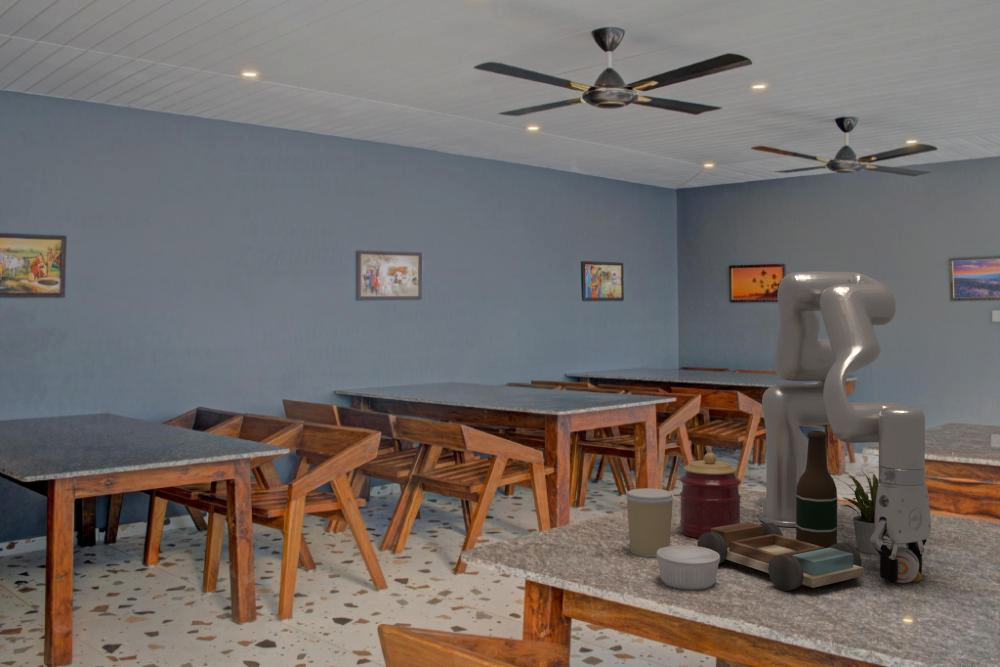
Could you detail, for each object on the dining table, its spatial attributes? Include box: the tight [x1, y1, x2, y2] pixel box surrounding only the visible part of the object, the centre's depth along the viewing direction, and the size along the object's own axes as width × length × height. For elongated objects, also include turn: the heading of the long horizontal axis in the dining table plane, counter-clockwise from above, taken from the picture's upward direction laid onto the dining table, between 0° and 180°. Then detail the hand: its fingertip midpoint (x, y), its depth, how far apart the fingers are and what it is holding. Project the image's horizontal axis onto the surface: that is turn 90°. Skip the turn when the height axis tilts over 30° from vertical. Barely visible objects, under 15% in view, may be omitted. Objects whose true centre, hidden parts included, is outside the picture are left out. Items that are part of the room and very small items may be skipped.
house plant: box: [837, 470, 879, 555], centre depth 178 cm, size 14×14×16 cm
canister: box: [679, 452, 742, 539], centre depth 192 cm, size 13×13×18 cm
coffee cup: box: [625, 487, 674, 558], centre depth 178 cm, size 9×9×12 cm
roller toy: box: [887, 546, 922, 584], centre depth 158 cm, size 4×6×6 cm
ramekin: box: [655, 545, 720, 591], centre depth 158 cm, size 11×11×5 cm
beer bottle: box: [795, 430, 838, 548], centre depth 179 cm, size 8×8×24 cm
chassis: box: [696, 521, 865, 592], centre depth 165 cm, size 28×17×6 cm, turn 30°
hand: (900, 576), depth 158 cm, fingers closed on roller toy, 6 cm apart
